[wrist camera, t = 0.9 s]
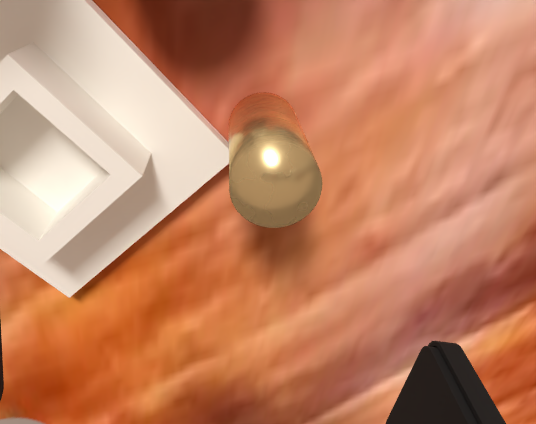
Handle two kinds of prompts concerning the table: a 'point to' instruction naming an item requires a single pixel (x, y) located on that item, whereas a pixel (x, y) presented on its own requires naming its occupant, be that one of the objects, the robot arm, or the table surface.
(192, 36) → the table surface
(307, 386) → the table surface
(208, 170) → the flange socket
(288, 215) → the cylinder
